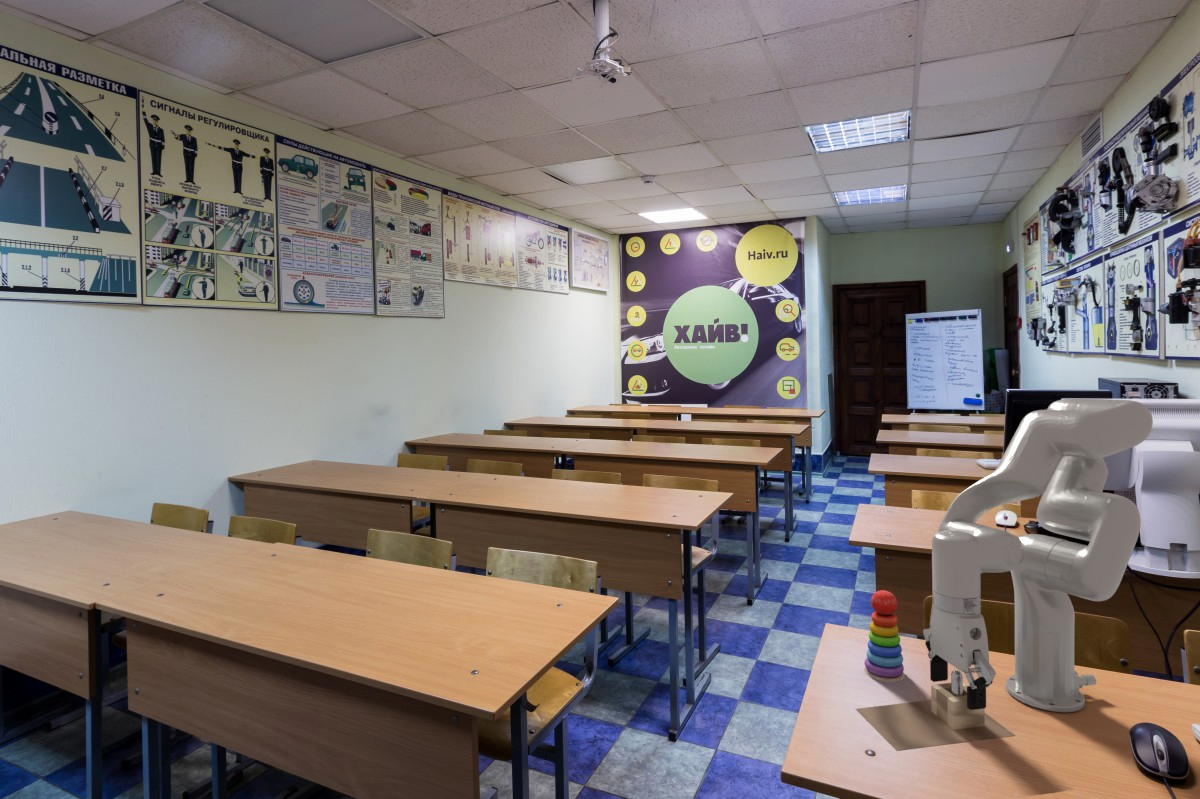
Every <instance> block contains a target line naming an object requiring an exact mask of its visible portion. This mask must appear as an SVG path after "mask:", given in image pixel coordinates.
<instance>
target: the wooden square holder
mask: <svg viewBox="0 0 1200 799" xmlns="http://www.w3.org/2000/svg"><path fill="white" fill-rule="evenodd" d="M967 686H968V685H966V684H965V683H963V696H958V697H955V696H954V695H952V694H951V682H947V683H937V684H930V690H931V691H930V695H931V696H930V700H931V711H932V712H933V713H934V714H935V715H937V716H938V717H939V718H940V719H941V720H943V721H944V722H945V723H946V724H947V725H949V726H950V727H951V728H952V729H953V730H955V729H963V728H972V727H980V726H985V713H986V712H985V709H986V708H984V709H976V710H970V709H969V708H967Z"/></svg>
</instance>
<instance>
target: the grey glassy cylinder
mask: <svg viewBox="0 0 1200 799" xmlns="http://www.w3.org/2000/svg"><path fill="white" fill-rule="evenodd" d="M950 675H951V676H950V678H951V679H950V680H951V681H950V683H951V694H952V695H954V696H955V697H958V696H963V684H964V680H963V679H964V678H963V672H962V671H960V670H958V669H956V670H955V669H954V670H953V671H951V673H950Z"/></svg>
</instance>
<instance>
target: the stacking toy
mask: <svg viewBox="0 0 1200 799" xmlns="http://www.w3.org/2000/svg"><path fill="white" fill-rule="evenodd" d="M898 603H899V602H898V599H897V597H896V596H895V595H894V594H893V593H892V592H891V591H888V590H884V589H882V590H877V591H875V592H874V593H873V595H872V596H871V599H870V604H871V607H872V608H873V611H874V612H872V614H871V615H870V616H871V622H870V623H869V630H870V631H869V633H868V639H869V640H868V642H867V648H868V649H867V651H866V658H865V660H864V670H863V671H864V672H865V674H866V675H867V676H868V677H870V678H872V679H874V680H877V681H881V682H886V683H887V682H888V683H896V682H900V681H903V680H904V679H905V678H906V674H905V672H904V670H905V669H904V668H905V667H904V666H905V665H904V664H903V662H904V657H903V654H902V651H903V648H902V646H901V644H900V642H901V637H900V635H899V634H898V633H899V627H898V625H897V624H898V620H899V619H898V617H897V616H896V614H895V612H896V611H897V610H898V605H899V604H898Z"/></svg>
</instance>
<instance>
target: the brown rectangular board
mask: <svg viewBox="0 0 1200 799" xmlns="http://www.w3.org/2000/svg"><path fill="white" fill-rule="evenodd" d="M855 710H856V712H858V714H860V715H861V716H862V717H863V718H864V720H865V721H867V722H868V723H869V724H870V725H871V726H872V728H874V730H875V731H877V733H878V734H879V735H880V736H882V738H883V739H884V740H885V741H886V742H887V743H888V744H889V745H890V746H891V747H892V748H893V749H894V750H895V751H896V752H898V751H906V750H907V751H908V750H915V749H921V748H922V749H923V748H930V747H937V746H945V745H954V744H961V743H968V742H977V741H985V740H992V739H1000V738H1008V737H1015V736H1016V735H1015V733H1013V732H1012V731H1010V730H1009V729H1007V728H1006V727H1005V726H1003V724H1001V723H999V722H998V721H997V720H996V719H994V718H992V716H990V715H989V714H987V713H986V712H985V726H980V727H972V728H963V729H955V730H953V729H952V728H951V727H950V726H949V725H947V724H946V723H945V722H944V721H943V720H941V719H940V718H939V717H938V716H937V715H935V714H934V713H933V712H932V711H931V699H929V700H928V699H927V700H919V701H912V702H911V701H910V702H903V703H894V704H886V705H878V706H877V705H876V706H869V707H867V706H866V707H860V708H859V707H858V708H855Z"/></svg>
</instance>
